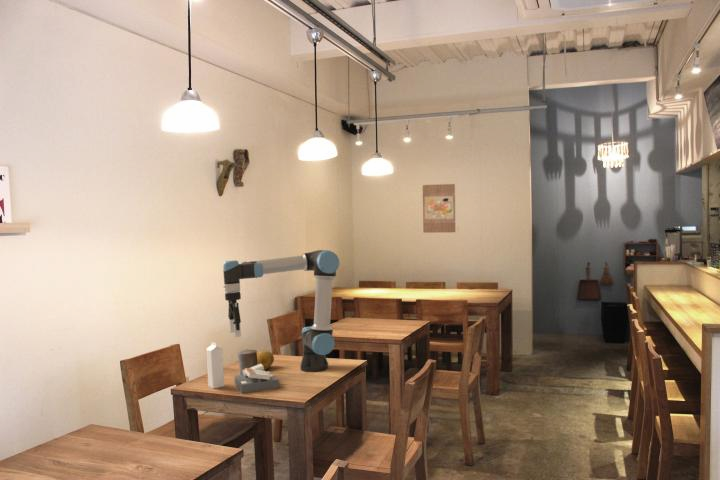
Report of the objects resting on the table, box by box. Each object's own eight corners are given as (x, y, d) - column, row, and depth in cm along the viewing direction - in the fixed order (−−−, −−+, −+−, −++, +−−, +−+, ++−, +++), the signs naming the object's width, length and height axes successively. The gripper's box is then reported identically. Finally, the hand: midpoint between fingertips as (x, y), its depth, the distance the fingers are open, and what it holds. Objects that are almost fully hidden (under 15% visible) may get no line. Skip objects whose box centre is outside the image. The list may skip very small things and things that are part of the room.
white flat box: (266, 377, 293) (267, 372, 294) (269, 379, 289) (270, 374, 289) (246, 375, 290) (247, 370, 290) (249, 377, 285) (249, 372, 285)
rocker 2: (264, 374, 299) (264, 370, 299) (266, 376, 295) (267, 372, 295) (244, 372, 296) (245, 367, 296) (246, 374, 291) (247, 369, 291)
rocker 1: (262, 367, 305) (260, 363, 305) (264, 369, 300) (262, 364, 300) (243, 374, 302) (241, 370, 301) (245, 376, 297) (243, 372, 297)
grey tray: (269, 379, 307) (269, 369, 307) (279, 387, 290) (278, 377, 290) (234, 384, 301) (234, 374, 301) (241, 393, 283) (241, 382, 283)
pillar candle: (261, 375, 315) (260, 347, 315) (251, 380, 306) (249, 351, 306) (246, 374, 319) (245, 346, 319) (235, 379, 311) (233, 350, 310)
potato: (253, 371, 325) (252, 353, 325) (257, 366, 338) (256, 348, 337) (272, 370, 325) (271, 352, 325) (275, 365, 338) (274, 347, 337)
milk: (213, 388, 294) (210, 344, 293) (208, 386, 299) (205, 342, 298) (224, 386, 297) (222, 342, 297) (219, 384, 302) (217, 340, 302)
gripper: (220, 290, 307) (223, 331, 307) (229, 295, 283) (232, 339, 284) (235, 289, 309) (238, 329, 310) (245, 293, 286) (248, 337, 287)
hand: (235, 334), depth 297 cm, fingers open, 13 cm apart
